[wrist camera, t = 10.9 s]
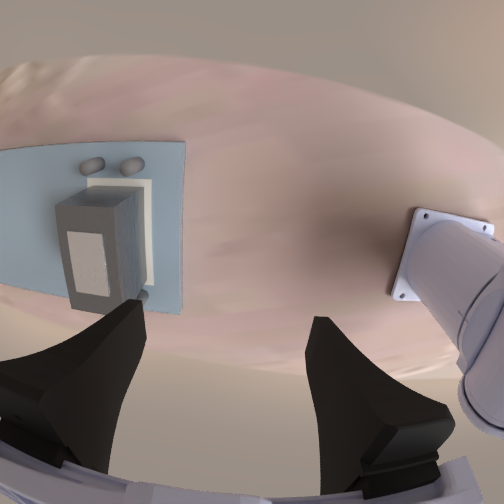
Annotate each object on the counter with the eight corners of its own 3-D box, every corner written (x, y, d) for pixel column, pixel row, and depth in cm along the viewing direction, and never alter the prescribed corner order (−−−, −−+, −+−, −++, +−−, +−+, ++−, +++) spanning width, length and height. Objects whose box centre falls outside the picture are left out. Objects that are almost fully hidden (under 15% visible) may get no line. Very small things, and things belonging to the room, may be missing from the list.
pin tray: (185, 141, 19) (174, 145, 16) (182, 307, 24) (174, 330, 22) (-15, 152, 18) (-36, 158, 16) (4, 278, 24) (-12, 292, 21)
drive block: (144, 186, 19) (112, 208, 15) (147, 279, 22) (124, 319, 17) (93, 185, 19) (53, 205, 14) (100, 273, 22) (71, 309, 17)
